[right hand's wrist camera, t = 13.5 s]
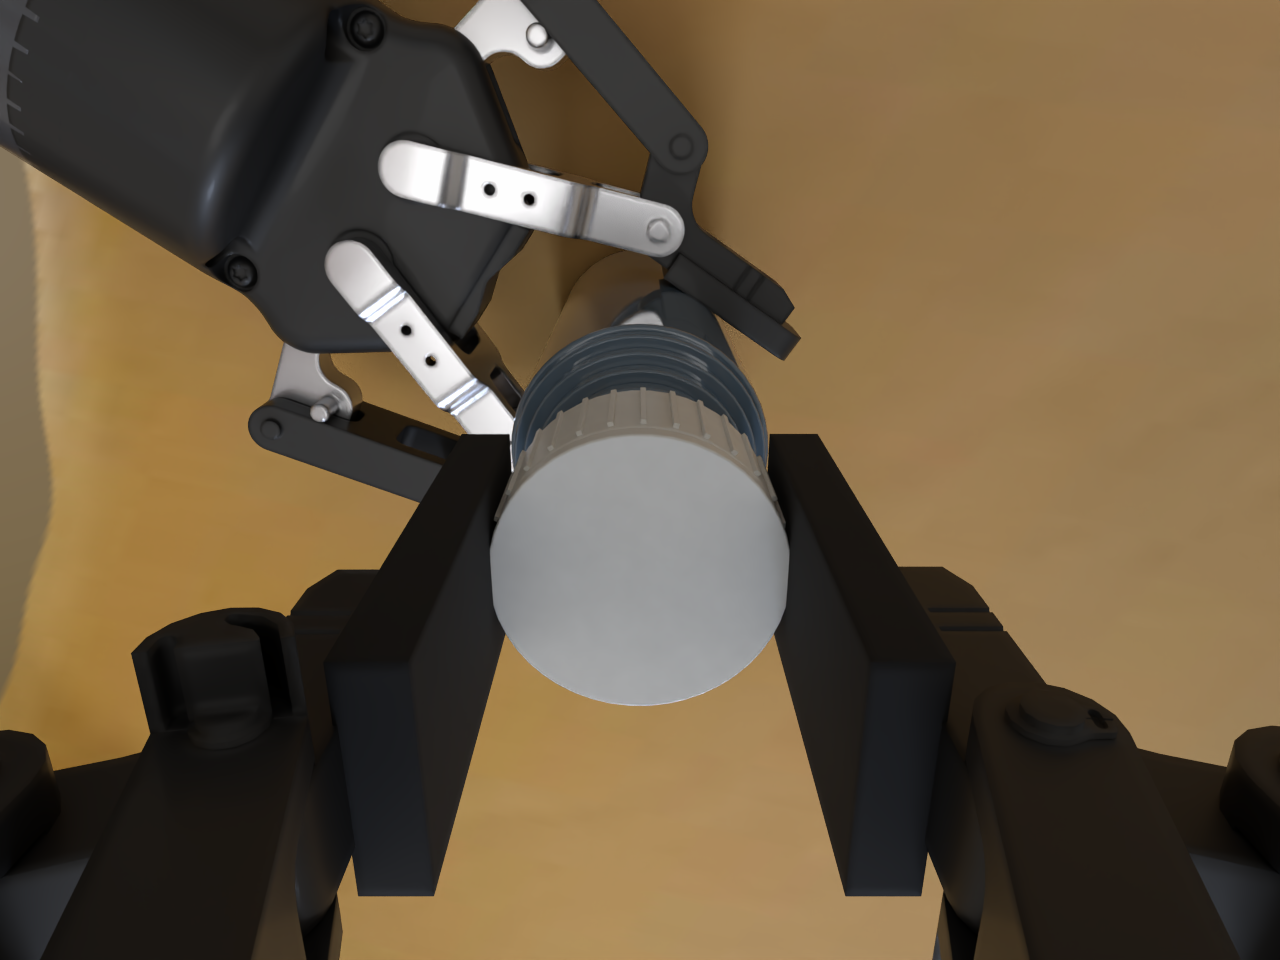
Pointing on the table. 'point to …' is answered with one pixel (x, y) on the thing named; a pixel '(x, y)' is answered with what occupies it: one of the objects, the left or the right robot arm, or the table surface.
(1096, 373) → the table surface
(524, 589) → the cap
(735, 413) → the bottle
